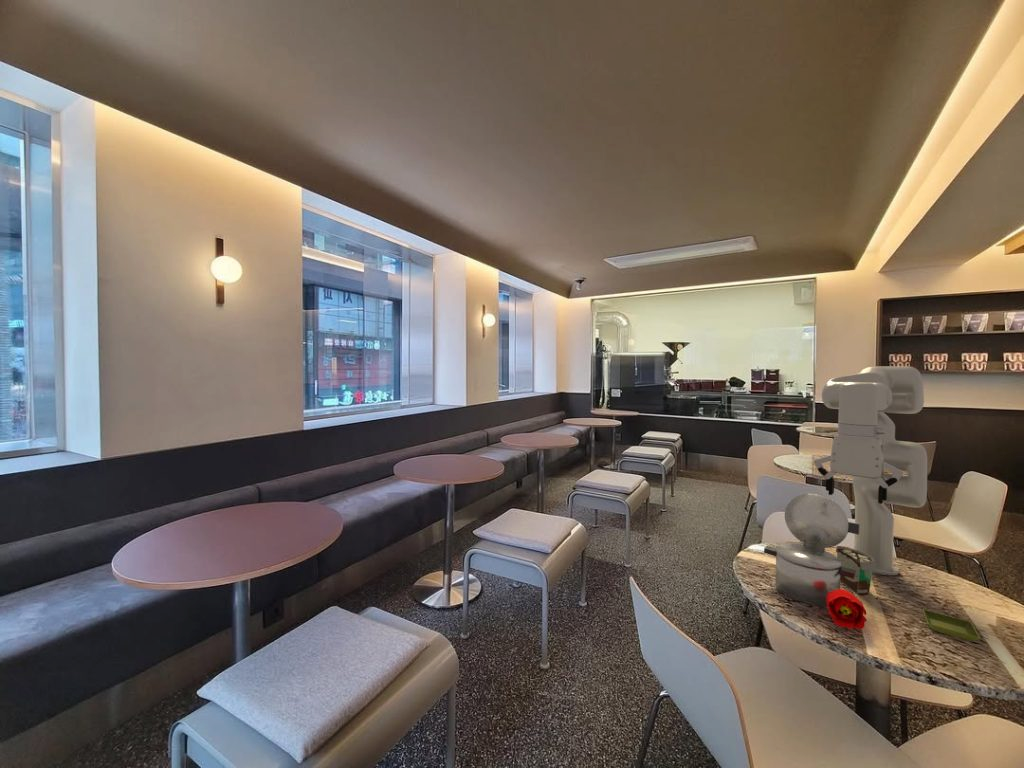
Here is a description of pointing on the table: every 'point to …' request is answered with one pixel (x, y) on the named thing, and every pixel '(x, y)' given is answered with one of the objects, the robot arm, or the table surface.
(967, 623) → the green shallow tray
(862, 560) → the food container
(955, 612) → the table surface
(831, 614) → the flower
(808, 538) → the cooker lid
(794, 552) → the cooker pot
